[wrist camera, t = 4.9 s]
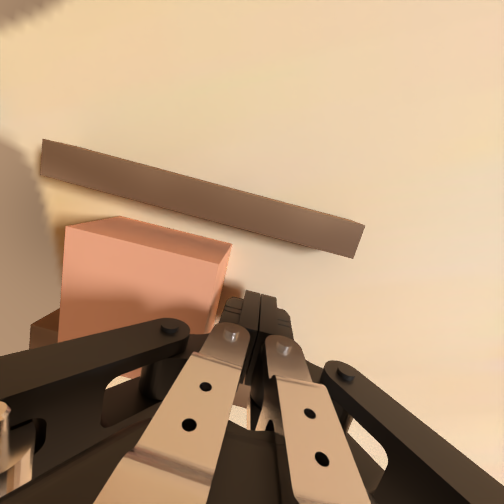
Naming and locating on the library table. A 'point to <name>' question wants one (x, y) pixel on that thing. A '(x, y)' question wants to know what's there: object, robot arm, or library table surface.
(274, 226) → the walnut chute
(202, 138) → the library table surface
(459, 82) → the library table surface
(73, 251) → the terracotta block
